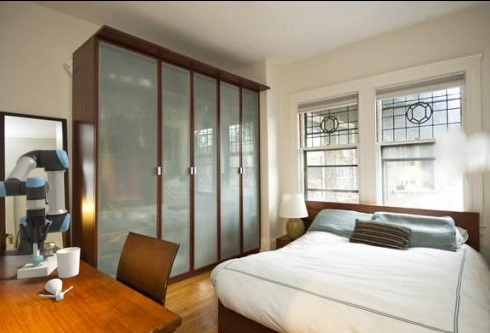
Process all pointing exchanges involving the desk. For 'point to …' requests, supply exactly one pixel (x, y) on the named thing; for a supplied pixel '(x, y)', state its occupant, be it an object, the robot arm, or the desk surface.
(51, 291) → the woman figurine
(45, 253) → the knob mid
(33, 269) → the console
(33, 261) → the knob
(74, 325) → the desk surface
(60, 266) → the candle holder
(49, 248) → the knob
